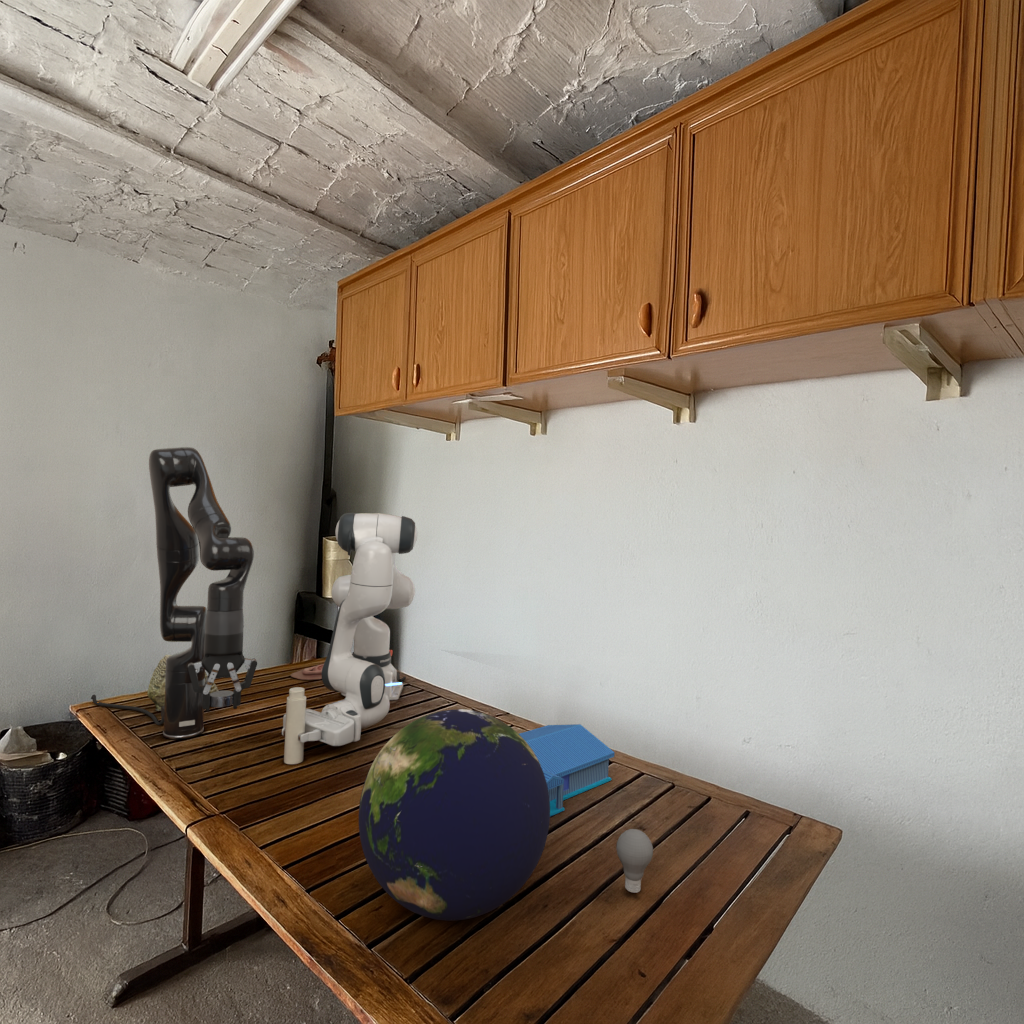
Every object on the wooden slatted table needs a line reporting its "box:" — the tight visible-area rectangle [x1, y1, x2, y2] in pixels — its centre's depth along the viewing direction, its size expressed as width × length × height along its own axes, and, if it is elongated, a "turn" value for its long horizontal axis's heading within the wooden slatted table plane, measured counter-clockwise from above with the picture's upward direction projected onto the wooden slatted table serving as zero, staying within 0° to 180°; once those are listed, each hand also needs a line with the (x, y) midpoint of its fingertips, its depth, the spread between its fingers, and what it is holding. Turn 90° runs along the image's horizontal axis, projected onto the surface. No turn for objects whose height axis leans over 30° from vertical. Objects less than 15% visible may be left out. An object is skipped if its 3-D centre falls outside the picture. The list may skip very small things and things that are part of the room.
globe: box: [358, 708, 551, 922], centre depth 100 cm, size 30×30×30 cm
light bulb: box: [615, 828, 654, 894], centre depth 106 cm, size 6×6×10 cm
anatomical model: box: [290, 663, 324, 681], centre depth 221 cm, size 13×4×12 cm
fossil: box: [147, 654, 220, 712], centre depth 185 cm, size 9×18×15 cm, turn 132°
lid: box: [210, 689, 234, 708], centre depth 136 cm, size 5×5×2 cm
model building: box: [518, 723, 615, 817], centre depth 141 cm, size 39×24×10 cm, turn 132°
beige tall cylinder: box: [283, 686, 307, 765], centre depth 151 cm, size 4×4×17 cm
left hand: (221, 708), depth 136 cm, fingers closed on lid, 4 cm apart
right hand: (291, 735), depth 150 cm, fingers closed on beige tall cylinder, 4 cm apart
